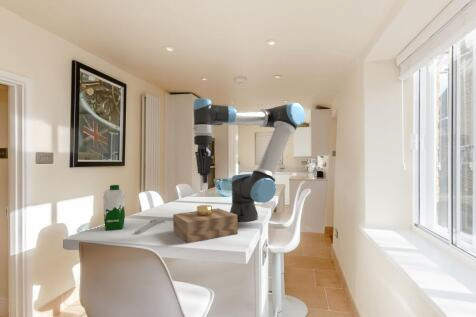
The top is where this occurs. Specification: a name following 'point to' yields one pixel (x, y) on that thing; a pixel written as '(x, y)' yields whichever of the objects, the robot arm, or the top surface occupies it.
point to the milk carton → (114, 208)
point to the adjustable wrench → (149, 225)
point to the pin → (204, 210)
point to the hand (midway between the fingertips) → (204, 190)
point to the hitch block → (204, 225)
